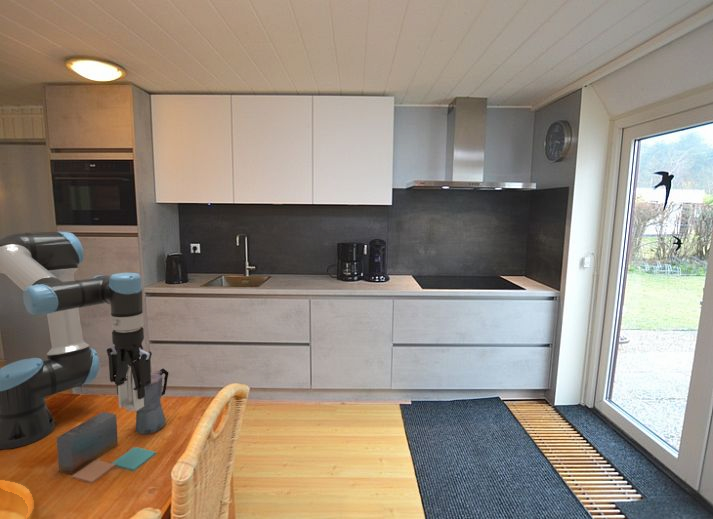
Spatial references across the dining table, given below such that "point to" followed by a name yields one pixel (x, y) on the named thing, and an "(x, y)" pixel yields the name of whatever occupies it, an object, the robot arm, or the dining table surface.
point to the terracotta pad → (93, 471)
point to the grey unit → (86, 442)
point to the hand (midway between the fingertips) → (131, 406)
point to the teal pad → (134, 458)
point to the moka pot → (152, 405)
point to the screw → (129, 391)
